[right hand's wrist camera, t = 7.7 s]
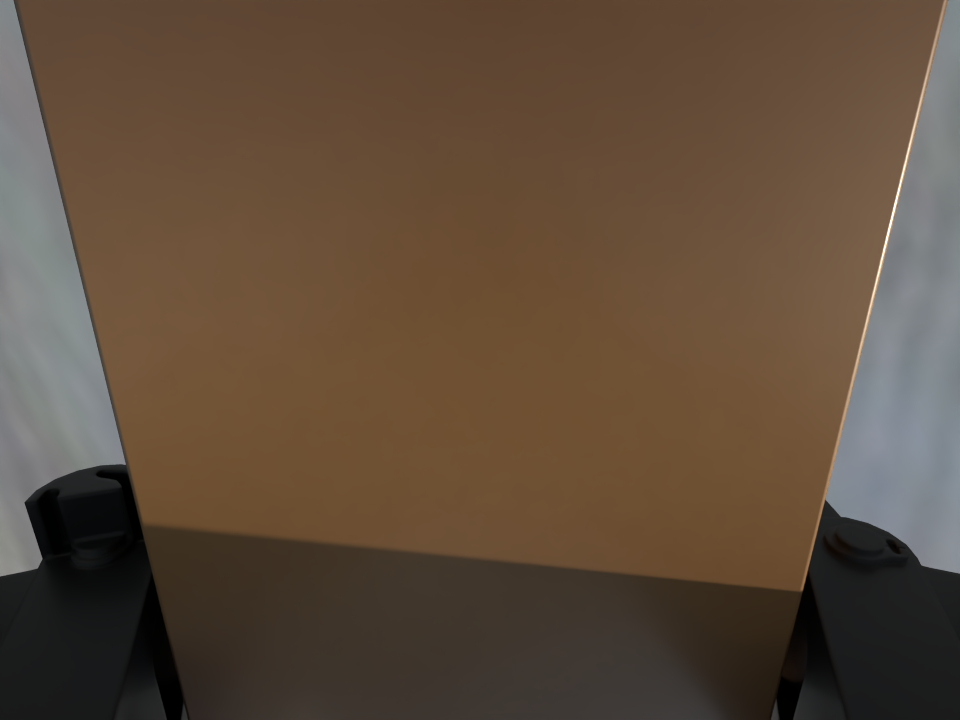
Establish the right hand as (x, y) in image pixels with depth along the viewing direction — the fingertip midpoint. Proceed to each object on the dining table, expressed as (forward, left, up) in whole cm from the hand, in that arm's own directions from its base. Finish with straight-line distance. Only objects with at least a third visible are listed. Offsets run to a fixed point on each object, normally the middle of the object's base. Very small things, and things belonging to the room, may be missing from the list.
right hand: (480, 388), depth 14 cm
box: (+4, +7, -1) cm, 8 cm away
